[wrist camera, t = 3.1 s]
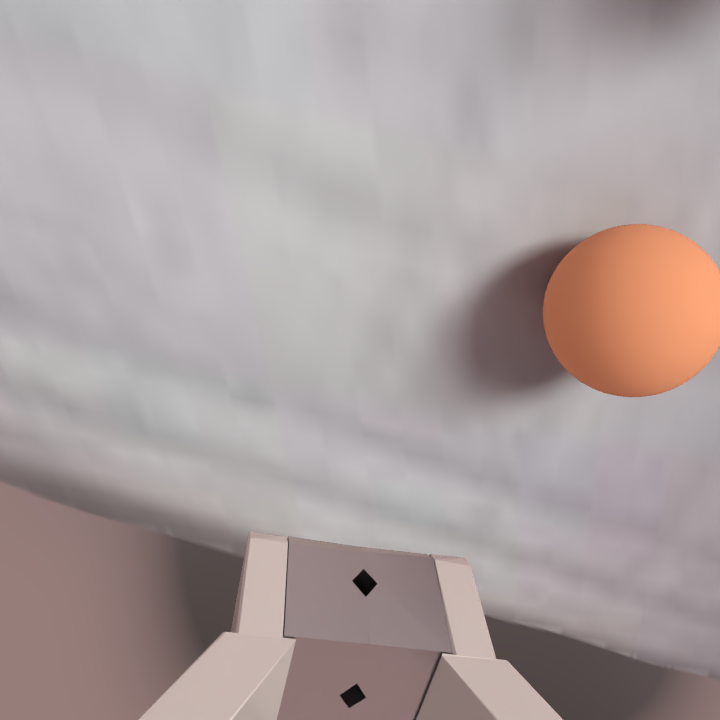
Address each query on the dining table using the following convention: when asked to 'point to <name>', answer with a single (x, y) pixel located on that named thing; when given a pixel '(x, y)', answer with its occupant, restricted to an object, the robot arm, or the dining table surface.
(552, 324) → the ball
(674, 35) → the dining table surface
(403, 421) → the dining table surface
